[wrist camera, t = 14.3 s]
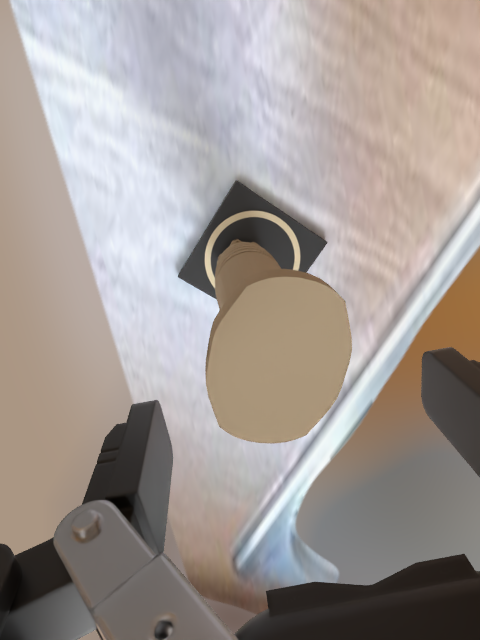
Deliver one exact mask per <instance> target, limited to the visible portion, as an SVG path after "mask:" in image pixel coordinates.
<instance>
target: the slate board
mask: <svg viewBox="0 0 480 640" xmlns="http://www.w3.org/2000/svg"><path fill="white" fill-rule="evenodd" d="M237 239H238V240H240V241H242V242H250V243H251V242H255V243H257V244H258V245H260V246H261V247H262V248H264V249H265V250H266V251H267V252H268V253H270V254H271V255H272V256H273V258H274V259H275V260H276V262H277V263H278V264H279V266H280V267H281V269H291V270H297V271H301V272H305V273H306V272H307V271H308V269H309V268H310V267H311V265H312V264H313V262H314V261H315V259H316V258H317V257H318V255H319V254H320V252H321V251H322V250H323V248H324V247H325V245H326V244H327V242H326V241H325V240H324V239H322V238H321V237H319V236H318V235H316V234H315V233H313V232H312V231H310V230H309V229H307V228H306V227H304V226H303V225H301V224H300V223H299V222H297V221H296V220H294V219H293V218H291V217H290V216H288V215H287V214H285V213H284V212H282V211H281V210H279V209H278V208H276V207H275V206H274V205H272V204H271V203H269V202H268V201H266V200H265V199H263V198H262V197H260V196H259V195H257V194H256V193H254V192H253V191H251V190H250V189H248V188H247V187H246V186H244V185H243V184H241V183H240V182H238V181H237V180H236V181H235V182H234V184H233V186H232V187H231V189H230V191H229V192H228V194H227V196H226V197H225V199H224V201H223V202H222V204H221V205H220V207H219V209H218V210H217V212H216V214H215V215H214V217H213V219H212V220H211V222H210V224H209V225H208V227H207V229H206V230H205V232H204V234H203V235H202V237H201V239H200V240H199V242H198V243H197V245H196V247H195V248H194V250H193V252H192V253H191V255H190V257H189V258H188V260H187V262H186V263H185V265H184V267H183V268H182V270H181V272H180V273H179V275H178V277H179V278H180V279H182V280H184V281H186V282H187V283H189V284H191V285H193V286H194V287H196V288H198V289H200V290H201V291H203V292H205V293H206V294H208V295H210V296H212V297H213V298H215V299H217V298H216V293H215V272H216V266H217V260H218V257H219V255H220V254H222V253H223V252H224V251H225V250H226V249H227V248H228V247H229V246H230V244H231V242H232V241H233V240H237Z"/></svg>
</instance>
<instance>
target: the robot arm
mask: <svg viewBox="0 0 480 640" xmlns="http://www.w3.org/2000/svg"><path fill="white" fill-rule="evenodd" d="M421 391H422V393H421V397H422V403H423V406H424V409H425V411H426V413H427V415H428V416H429V418H430V419H431V420H432V421H433V422H434V424H435V425H436V426H437V427H438V428H439V429H440V431H441V432H442V433H443V434H444V435H445V437H446V438H447V439H448V440H449V441H450V442H451V444H452V445H453V446H454V447H455V448H456V450H457V451H458V452H459V453H460V454H461V456H462V457H463V458H464V459H465V460H466V461H467V463H468V464H469V465H470V466H471V467H472V468H473V470H474V471H475V472H476V473H477V475H478V476H479V477H480V362H477V361H475V360H471V361H469V360H468V359H467V358H465V357H464V356H463V355H461V354H460V353H459V352H458V351H456V350H455V349H454V348H451V347H449V348H443V349H438V350H432V351H427V352H425V353H424V354H423V357H422V390H421ZM172 465H173V452H172V445H171V441H170V437H169V434H168V430H167V427H166V423H165V420H164V416H163V413H162V409H161V406H160V403H159V401H158V400H154V401H149V402H143V403H138V404H133V405H132V406H131V409H130V412H129V416H128V419H127V423H122V424H117V425H116V426H115V427H114V428H113V429H112V430H111V431H110V433H109V434H108V435H107V436H106V437H105V440H104V443H103V446H102V449H101V453H100V454H99V457H98V460H97V465H96V466H95V469H94V472H93V475H92V478H91V480H90V483H89V486H88V489H87V492H86V495H85V497H84V500H83V503H82V505H81V506H79V507H77V508H76V509H74V510H73V511H72V512H70V513H69V514H68V515H67V516H66V517H65V518H64V519H63V520H62V521H61V522H60V524H59V525H58V527H57V529H56V531H55V534H54V537H53V538H52V539H50V540H48V541H46V542H44V543H42V544H39V545H37V546H35V547H33V548H30V549H28V550H26V551H24V552H22V553H19V554H17V555H15V556H14V554H13V552H12V551H11V549H10V548H9V547H8V546H7V545H5V544H0V640H77V639H79V638H81V637H83V636H85V635H87V634H89V633H90V632H92V631H94V630H96V632H97V634H98V636H99V638H100V640H480V571H475V570H474V568H473V567H472V565H471V563H470V562H469V561H468V559H467V557H466V556H465V554H461V555H455V556H450V557H445V558H439V559H434V560H429V561H423V562H418V563H415V564H413V565H411V566H409V567H407V568H405V569H403V570H401V571H399V572H397V573H395V574H393V575H391V576H389V577H387V578H385V579H383V580H381V581H379V582H377V583H375V584H373V585H367V586H364V585H351V584H337V583H324V582H311V583H306V584H301V585H295V586H290V587H285V588H279V589H274V590H269V591H266V594H267V601H268V609H267V610H265V611H263V612H261V613H259V614H258V615H256V616H255V617H253V618H252V619H250V620H249V621H248V622H247V623H245V624H244V625H243V626H242V627H241V628H240V629H239V630H238V631H237V632H236V633H235V634H233V633H232V632H231V630H230V629H229V628H228V627H227V626H226V624H225V623H224V622H223V621H222V620H221V619H220V617H219V616H218V615H217V614H216V613H215V612H214V611H213V609H212V608H211V607H210V606H209V604H207V602H206V601H205V600H204V599H203V597H202V596H201V595H200V594H199V593H198V592H197V590H196V589H195V588H194V587H193V586H192V585H191V583H190V582H189V581H188V580H187V579H186V577H185V576H184V575H183V574H182V573H181V572H180V570H179V569H178V568H177V567H176V566H175V565H174V563H173V562H172V561H171V560H170V559H169V558H168V557H167V556H166V555H165V554H164V553H163V551H164V542H165V532H166V523H167V513H168V504H169V494H170V484H171V475H172Z"/></svg>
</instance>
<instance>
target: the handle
mask: <svg viewBox="0 0 480 640" xmlns="http://www.w3.org/2000/svg"><path fill="white" fill-rule="evenodd" d="M215 293H216V298H217V301H218V305H219V308H220V311H219V313H218V315H217V316H216V318H215V319H214V322H213V325H212V328H211V333H210V338H209V344H208V350H207V357H206V386H207V391H208V396H209V399H210V402H211V405H212V408H213V411H214V414H215V416H216V419H217V422H218V424H219V427H220V428H222V429H223V430H225V431H226V432H227V433H229V434H231V435H233V436H235V437H237V438H240V439H243V440H246V441H252V442H258V443H282V442H288V441H292V440H295V439H298V438H300V437H303V436H305V435H307V434H308V432H309V431H310V430H311V429H312V428H313V427H314V426H315V425H316V424H317V423H318V422H319V421H320V419H321V418H322V417H323V416H324V415H325V414H326V413H327V411H328V410H329V409H330V408H331V406H332V405H333V403H334V402H335V401H336V399H337V397H338V394H339V392H340V390H341V388H342V384H343V381H344V378H345V375H346V372H347V368H348V365H349V362H350V357H351V351H352V340H351V332H350V325H349V320H348V314H347V309H346V304H345V301H344V300H343V299H342V298H341V297H340V296H339V295H338V294H337V293H336V291H335V290H334V289H332V288H331V287H330V286H329V285H328V284H327V283H325V282H324V281H323V280H321V279H320V278H318V277H315V276H313V275H311V274H308V273H305V272H301V271H297V270H291V269H281V267H280V266H279V264H278V263H277V262H276V260H275V259H274V258H273V256H272V255H271V254H270V253H268V252H267V251H266V250H265V249H264V248H262V247H261V246H260V245H258V244H257V243H255V242H251V243H250V242H242V241H240V240H238V239H237V240H233V241H232V242H231V244H230V246H229V247H228V248H227V249H226V250H225V251H224V252H223V253H222V254H220V255H219V257H218V260H217V266H216V272H215Z"/></svg>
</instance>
